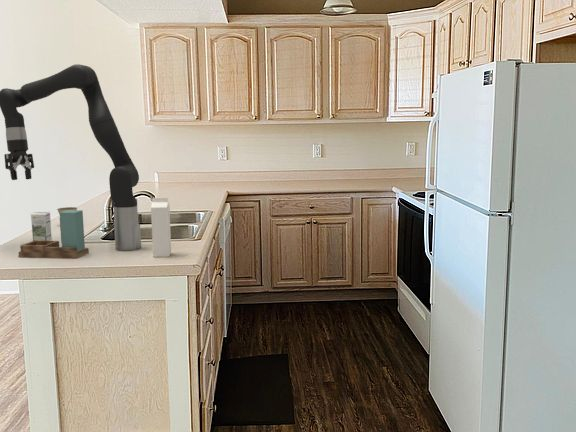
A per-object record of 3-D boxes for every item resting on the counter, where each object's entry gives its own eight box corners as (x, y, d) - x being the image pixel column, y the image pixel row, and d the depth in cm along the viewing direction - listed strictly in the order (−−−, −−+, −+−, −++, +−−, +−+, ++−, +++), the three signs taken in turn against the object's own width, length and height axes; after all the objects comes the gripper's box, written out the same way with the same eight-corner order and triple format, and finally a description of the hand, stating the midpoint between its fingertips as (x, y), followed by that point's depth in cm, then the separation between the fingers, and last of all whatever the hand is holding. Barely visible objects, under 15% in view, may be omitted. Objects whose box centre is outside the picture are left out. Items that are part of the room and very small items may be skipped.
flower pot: (61, 228, 279) (60, 210, 278) (55, 225, 286) (54, 208, 285) (81, 225, 285) (80, 208, 284) (74, 223, 292) (73, 206, 291)
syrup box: (52, 246, 237) (50, 211, 234) (47, 249, 231) (44, 213, 229) (38, 246, 236) (36, 211, 234) (33, 249, 231) (30, 213, 228)
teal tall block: (84, 248, 222) (82, 210, 219) (77, 252, 216) (74, 212, 214) (68, 248, 223) (66, 210, 220) (60, 251, 217) (58, 212, 214)
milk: (155, 253, 222) (153, 197, 219) (171, 253, 222) (169, 196, 219) (152, 257, 216) (150, 198, 213) (169, 256, 216) (166, 198, 213)
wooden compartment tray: (88, 252, 224) (88, 241, 223) (76, 258, 214) (75, 246, 213) (33, 251, 227) (32, 240, 226) (18, 257, 217) (17, 245, 216)
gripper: (12, 137, 223) (18, 179, 225) (36, 139, 237) (41, 178, 239) (-4, 139, 225) (1, 181, 226) (20, 140, 239) (25, 179, 240)
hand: (21, 179), depth 232 cm, fingers open, 8 cm apart
